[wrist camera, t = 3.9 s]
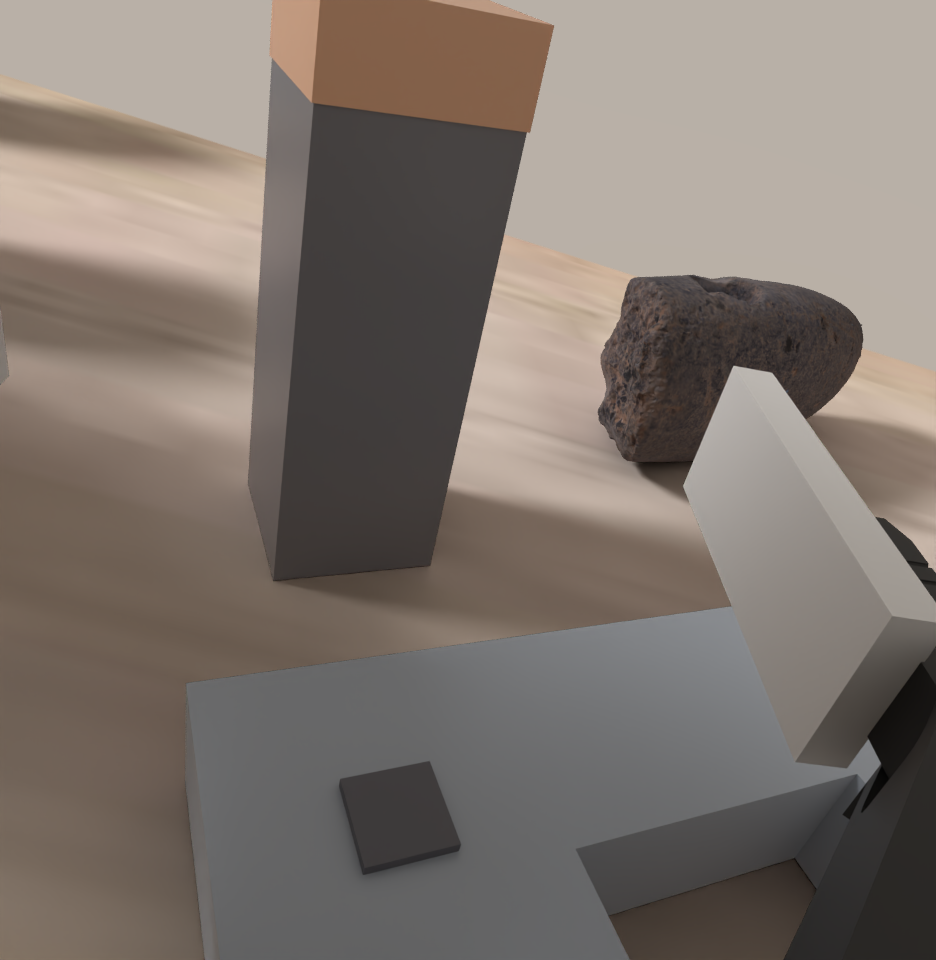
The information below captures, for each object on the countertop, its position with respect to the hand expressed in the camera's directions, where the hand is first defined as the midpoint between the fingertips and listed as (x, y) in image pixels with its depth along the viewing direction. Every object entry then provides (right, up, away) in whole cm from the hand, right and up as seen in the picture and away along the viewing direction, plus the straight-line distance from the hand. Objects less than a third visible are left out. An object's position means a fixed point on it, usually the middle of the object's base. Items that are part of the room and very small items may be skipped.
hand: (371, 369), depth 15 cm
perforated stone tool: (+12, 0, +19) cm, 23 cm away
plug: (-2, -3, +10) cm, 10 cm away
